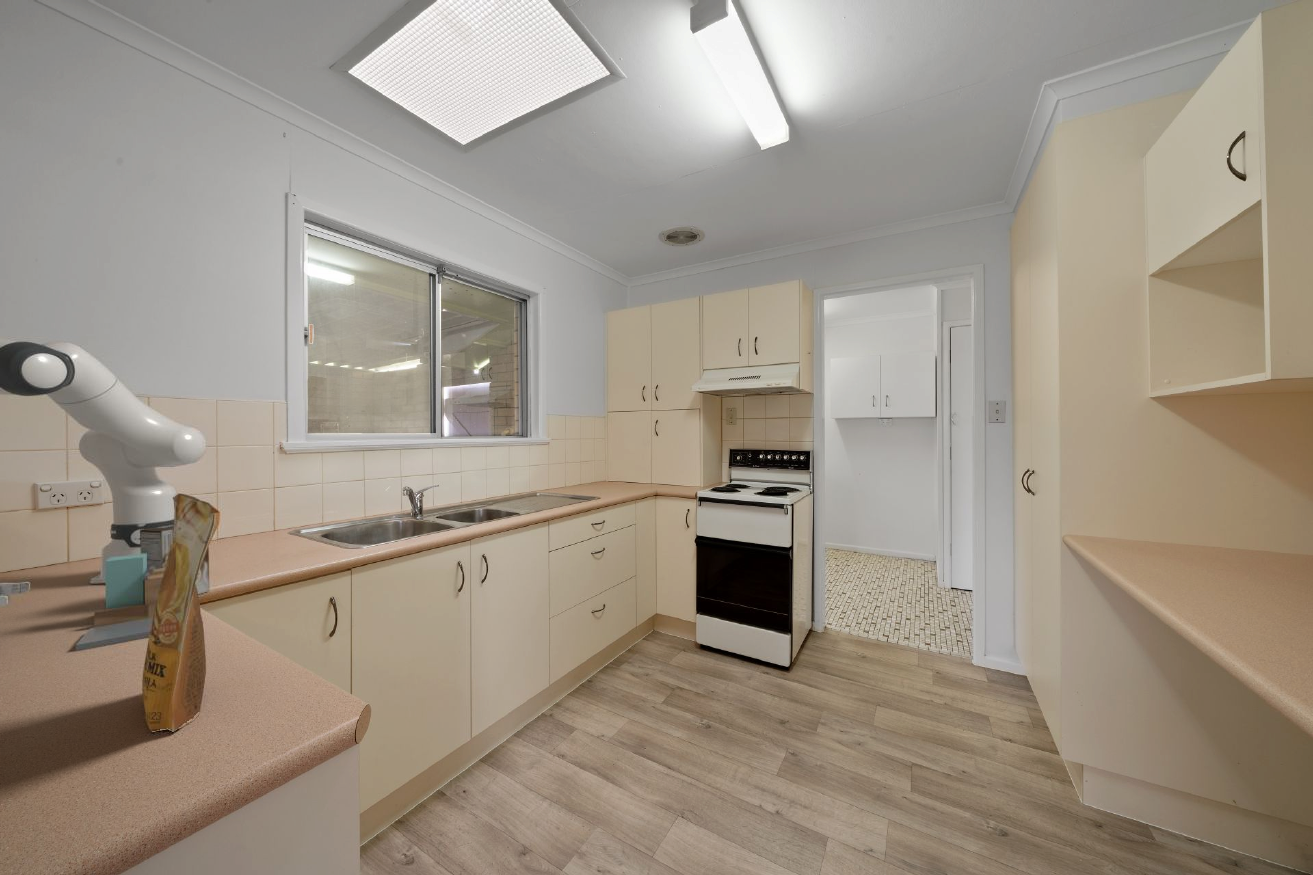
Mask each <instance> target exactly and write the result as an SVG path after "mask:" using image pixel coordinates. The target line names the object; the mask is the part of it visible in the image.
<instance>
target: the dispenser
mask: <svg viewBox="0 0 1313 875" xmlns="http://www.w3.org/2000/svg"><path fill="white" fill-rule="evenodd" d="M164 572H165V568H159V569H155V565H153V566H151V567H150V568H149V569H148V570H147V571H146V573H145V574H144V575H143V581H144V580H145V604H139V605H132V606H126V607H119V608H113V609H107V610H106V600H105V602H104V609H103V610H95V611H94V613H93V614H94V628H95V627H101V626H107V625H113V624H118V623H124V622H130V621H136V620H142V619H148V618H153V616H154V611H155V606H156V602H157V598H158V593H159V589H160V585H161V582H162V578H163V575H164Z"/></svg>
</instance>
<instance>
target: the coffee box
mask: <svg viewBox="0 0 1313 875" xmlns="http://www.w3.org/2000/svg"><path fill="white" fill-rule="evenodd" d="M173 527H174V525H167V526H161V527H155V528H149V529H142V530H140V550H141V554H144V553H147V570H148V569H149V568H150V567H151V566H153V565H155V569H159V568H166V563H167V559H168V555H169V551H170V547H171V543H172V536H173ZM209 546H210V545H209ZM209 546H208V549H207V552H206V554H205V557H204V559H203V562H202V564H201V567H200V569H199V572H198V575H197V578H196V582H195V584H196V588H197V592H198V595H201V594H205V593H207V592H210V590H211V589H210V559H209V557H210V550H209Z"/></svg>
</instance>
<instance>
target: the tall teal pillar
mask: <svg viewBox="0 0 1313 875" xmlns="http://www.w3.org/2000/svg"><path fill="white" fill-rule="evenodd" d="M146 571H147V553H144V554H135V555H126V556H117V557H110V558H109V559H108V560H106V561H105V583H104V584H105V601H106V610H107V609H113V608H119V607H126V606H132V605H139V604H145V580H144V581H143V575H144V574H145V573H146Z"/></svg>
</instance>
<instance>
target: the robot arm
mask: <svg viewBox="0 0 1313 875" xmlns="http://www.w3.org/2000/svg"><path fill="white" fill-rule="evenodd" d="M0 395H6V396H7V395H9V396H13V395H14V396H15V395H17V396H20V397H21V396H22V397H33V396H34V397H35V396H37V397H38V396H42V395H43V396H45V395H47V397H49V399H51V400H52V401H53V402H54V403H55V404H56V405H57V406H59V407H60V409H62V410H63V411H64V412H65V413H67V414H68V415H69V416H70V417H71V418H72V419H73V420H74V421H76V422H77V423H78V424H79V425H81V426H82V427H84V428H86V429H88V431H86V432H85V433H84V434H83V435H82V436H81V437H80V439H79V444H78V450H79V453H80V455H81V457H82V458H83V459H84V460H85V461H86V462H88V463H90V464H91V465H93V466H95V467H96V469H98V470H99V472H100V473H101V474H102V476H103V477H104V479H105V480H106V482H107V484H108V486H109V489H110V492H111V498H112V510H113V512H112V513H113V516H112V517H113V523H112V524H111V525H110V530H109V532H110V539H111V541H110V542H109V543H108V544H107V545H105V546H104V547H102V549H101V555H100V556H101V557H100V558H101V559H100V574H98V575H96V576H94V577H92V578H90V581H89V584H106V583H105V561H106V560H108V559H109V558H110V557H117V556H126V555H135V554H141V550H140V530H142V529H149V528H155V527H161V526H167V525H174V512H175V510H174V501H173V497H174V496H176V495H177V491H176V489H175V487H174V486H173V485H172V484H170V483H168V482H166V481H164V480H163V479H162V478H161V477H160V475H159V474H158V473H157V470H156V468H173V467H180V466H185V465H190V464H195V463H198V462H199V461H200V460H201V459H202V458H203V456H204V455H205V453H206V451H207V441H206V440H207V439H206V438H205V436H204V434H203V433H202V432H201V431H200V430H199V429H197V428H195V427H191V426H188V425H186V424H182V423H179V422H178V421H175V420H173V419H171V418H169V417H167V416H165V415H164V414H163V413H161V412H159V411H157V410H155V409H153V407H150V406H149V405H147V404H146V403H145V402H143V401H142V400H140V399H139V398H138V397H137V396H136V395H135V394H134V393H133V392H131V390H130V389H129V388H128V387H126V386H125V384H124V383H123V382H121V380H119V379H118V378H117V376H116V375H115V374H114V373H113V372H112V371H111V370H110V369H109V368H107V367H106V366H105V365H104V364H103V363H102V362H101V361H100V360H98V359H97V358H96V357H94V356H93V355H92V354H90V353H89V352H88V351H86V350H85V349H83V348H82V347H80V346H79V345H76V344H75V343H71V342H66V341H49V342H46V343H45V342H44V343H41V344H40V343H37V342H31V341H22V340H21V341H19V340H14V339H11V338H10V339H9V338H3V337H2V338H1V337H0ZM30 590H31V583H30V581H23V582H0V608H3V607H6V606H7V605H9V604H10V602H11V595H18V594H25V593H28V592H29V591H30Z"/></svg>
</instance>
